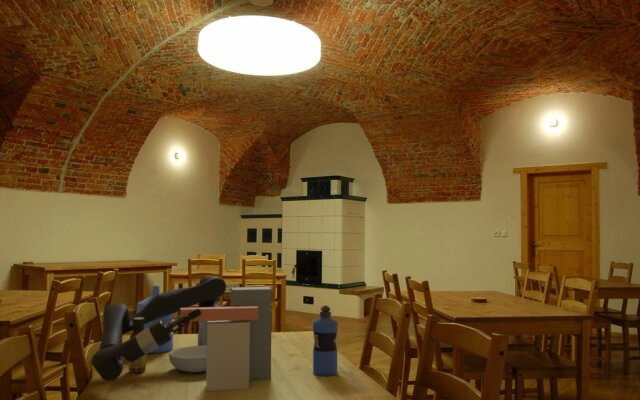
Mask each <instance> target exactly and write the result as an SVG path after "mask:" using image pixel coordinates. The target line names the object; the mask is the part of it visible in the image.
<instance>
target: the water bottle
mask: <svg viewBox="0 0 640 400" xmlns="http://www.w3.org/2000/svg"><path fill="white" fill-rule="evenodd" d="M331 316H332V312H331V308H330V307H329V305H322V306H321V307H320V311H319V318H317V319H315V320H313V322H312V332H313V340H314V344H313V349H312V350H313V351H312V374H313V375H314V376H316V377H322V378H323V377H324V378H325V377H326V378H327V377H328V378H329V377H334V376H336V375H338V346H337V338H338V331H339V329H338V328H339V324H338V321H337V320H335V319H333V318H332V317H331Z"/></svg>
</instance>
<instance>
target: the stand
mask: <svg viewBox="0 0 640 400" xmlns="http://www.w3.org/2000/svg"><path fill="white" fill-rule="evenodd" d="M272 291H273V288H271V287H270V286H249V287H248V286H246V287H245V286H243V287H242V286H240V287H239V286H238V287H230V307H237V306H257V307H258V319H255V320H223V321H207V365H206V371H205V372H206V376H205V377H206V379H205V380H206V381H205V383H206V385H205V388H206V392H213V391H214V392H215V391H230V390H244V389H250V381H253V380H254V381H255V380H270V379H272V319H273V318H272V316H273V315H272V308H273V307H272V299H273V297H272V295H273V294H272V293H273V292H272Z"/></svg>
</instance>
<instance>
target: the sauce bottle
mask: <svg viewBox="0 0 640 400" xmlns="http://www.w3.org/2000/svg"><path fill="white" fill-rule="evenodd" d="M144 321H145V320H144V318H143V317H136V318H133V323H134V327H133V330H132V331H131V334H130V336H129V339H131V338H133V337H134V336H136V335H137V334H139V333H140V332H141V331H143V330H144ZM146 366H147V354H146V355H144V356H142V357H141V358H139V359H137V360H135V361H133V362H129V361H128V371H129V372H131V373H132V372H134V373H135V374H137V373H138V372H140V373H143V372H145V371H146Z"/></svg>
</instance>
